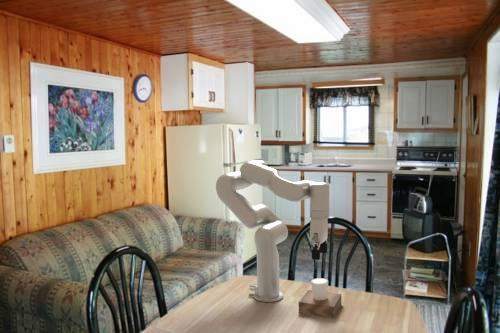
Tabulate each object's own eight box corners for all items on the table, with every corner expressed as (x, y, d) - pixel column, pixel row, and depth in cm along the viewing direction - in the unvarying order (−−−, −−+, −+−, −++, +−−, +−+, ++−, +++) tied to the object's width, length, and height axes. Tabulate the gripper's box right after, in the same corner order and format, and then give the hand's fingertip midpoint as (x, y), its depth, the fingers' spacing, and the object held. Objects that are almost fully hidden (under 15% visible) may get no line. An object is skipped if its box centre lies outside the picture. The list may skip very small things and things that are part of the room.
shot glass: (329, 300, 177) (328, 283, 176) (312, 301, 178) (311, 284, 177) (328, 293, 184) (327, 277, 183) (311, 294, 184) (310, 277, 184)
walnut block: (298, 314, 177) (298, 301, 177) (308, 301, 190) (308, 289, 190) (333, 319, 172) (333, 306, 172) (341, 305, 185) (341, 294, 184)
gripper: (317, 209, 187) (317, 249, 189) (303, 217, 171) (303, 260, 173) (334, 210, 184) (334, 251, 185) (322, 218, 168) (322, 263, 170)
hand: (319, 255), depth 179 cm, fingers open, 9 cm apart
